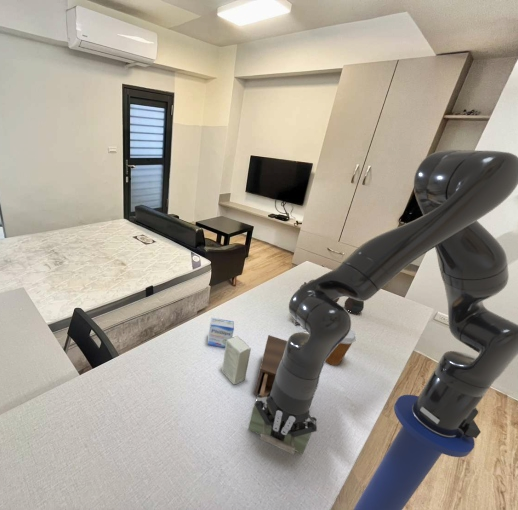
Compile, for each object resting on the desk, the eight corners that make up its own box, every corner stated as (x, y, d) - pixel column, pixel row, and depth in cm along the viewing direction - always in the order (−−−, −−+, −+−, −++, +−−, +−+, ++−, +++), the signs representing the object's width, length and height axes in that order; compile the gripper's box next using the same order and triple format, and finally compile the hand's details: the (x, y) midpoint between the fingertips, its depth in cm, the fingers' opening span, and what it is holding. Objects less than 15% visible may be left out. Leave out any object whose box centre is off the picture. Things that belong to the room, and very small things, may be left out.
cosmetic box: (245, 380, 82) (252, 348, 77) (233, 385, 80) (240, 353, 75) (231, 365, 87) (237, 334, 82) (220, 370, 85) (226, 338, 80)
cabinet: (305, 415, 73) (315, 388, 69) (253, 394, 78) (260, 368, 74) (306, 374, 86) (315, 350, 82) (262, 358, 91) (268, 334, 87)
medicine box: (207, 345, 95) (210, 324, 92) (208, 336, 99) (211, 316, 96) (230, 349, 94) (234, 328, 91) (230, 340, 98) (233, 320, 95)
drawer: (302, 474, 59) (312, 451, 56) (243, 446, 63) (250, 423, 60) (304, 404, 75) (312, 382, 72) (258, 385, 80) (263, 364, 76)
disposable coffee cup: (336, 372, 88) (347, 343, 83) (309, 354, 95) (318, 325, 90) (350, 362, 93) (362, 333, 88) (324, 345, 100) (334, 317, 96)
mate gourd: (356, 307, 127) (364, 288, 123) (364, 317, 120) (372, 297, 116) (340, 305, 127) (347, 286, 123) (347, 314, 120) (354, 295, 116)
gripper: (258, 382, 54) (243, 440, 61) (332, 412, 49) (307, 471, 56) (264, 358, 61) (249, 413, 67) (330, 382, 56) (307, 438, 63)
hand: (276, 439), depth 62 cm, fingers closed
